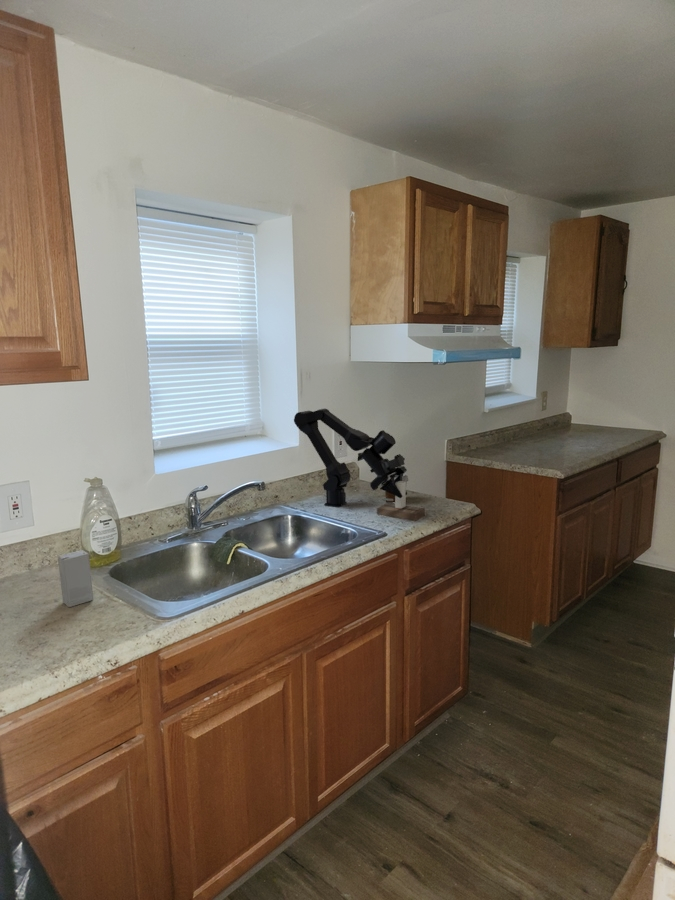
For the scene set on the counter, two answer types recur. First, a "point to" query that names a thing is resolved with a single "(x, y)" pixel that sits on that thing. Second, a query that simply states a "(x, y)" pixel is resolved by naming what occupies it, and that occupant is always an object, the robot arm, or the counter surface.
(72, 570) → the skincare box
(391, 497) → the food container
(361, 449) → the robot arm
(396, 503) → the fader
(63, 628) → the counter surface
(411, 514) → the console
